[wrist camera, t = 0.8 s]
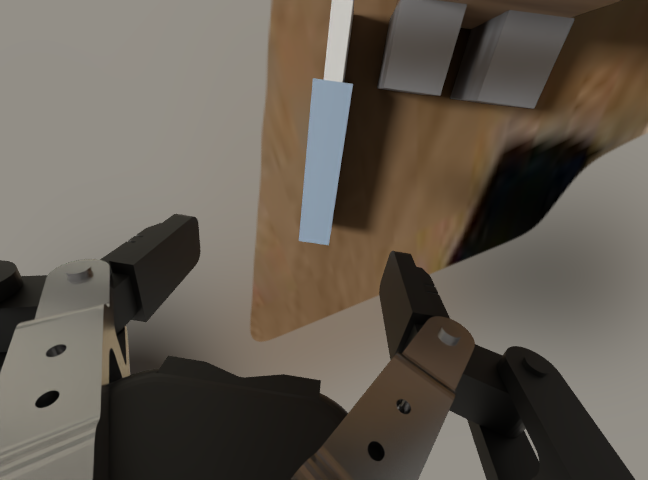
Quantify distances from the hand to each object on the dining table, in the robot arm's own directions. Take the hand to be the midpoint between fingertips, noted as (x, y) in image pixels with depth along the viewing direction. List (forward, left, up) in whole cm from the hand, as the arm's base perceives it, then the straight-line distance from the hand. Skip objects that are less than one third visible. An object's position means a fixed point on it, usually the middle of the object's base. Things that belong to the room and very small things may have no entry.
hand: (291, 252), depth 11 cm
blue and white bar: (0, -2, -19) cm, 19 cm away
